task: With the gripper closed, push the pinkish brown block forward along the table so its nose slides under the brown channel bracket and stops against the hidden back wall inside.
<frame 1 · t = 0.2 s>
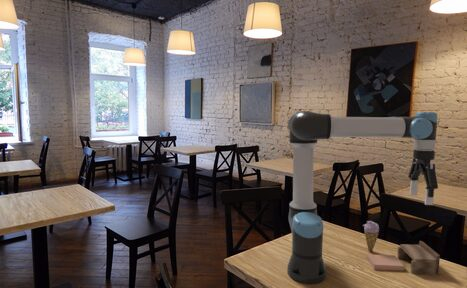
hand: (420, 199, 128), 28 cm above the table, fingers open, 13 cm apart
brown channel bracket: (416, 265, 128), on the table
ice cream cone: (369, 251, 142), on the table
pinkish brown block: (384, 265, 130), on the table
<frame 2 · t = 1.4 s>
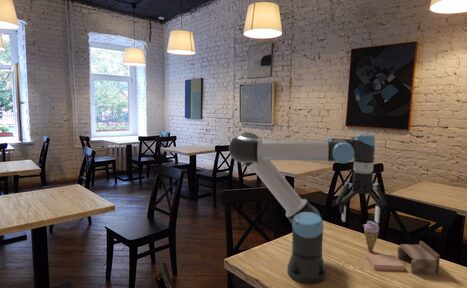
hand: (359, 221, 129), 18 cm above the table, fingers open, 13 cm apart
nothing on the table moved.
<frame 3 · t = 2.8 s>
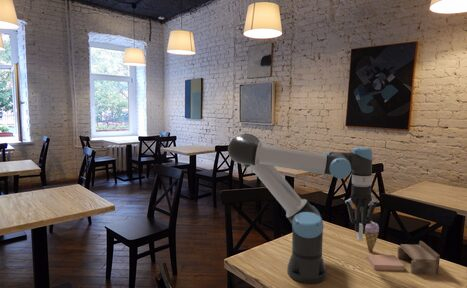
hand: (359, 239, 129), 11 cm above the table, fingers closed
nothing on the table moved.
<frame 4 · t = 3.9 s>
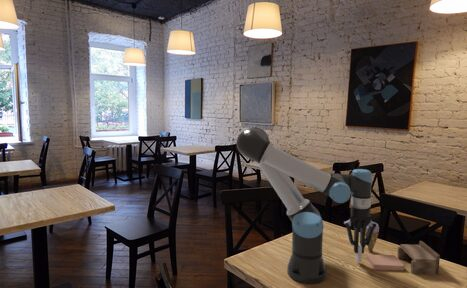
hand: (358, 260, 130), 1 cm above the table, fingers closed
nothing on the table moved.
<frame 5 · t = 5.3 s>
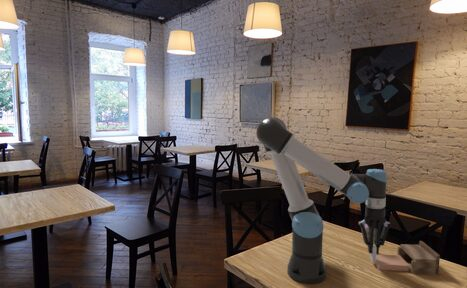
hand: (373, 260, 130), 2 cm above the table, fingers closed
pinkish brown block: (389, 265, 129), on the table, touching gripper
everything else where it was.
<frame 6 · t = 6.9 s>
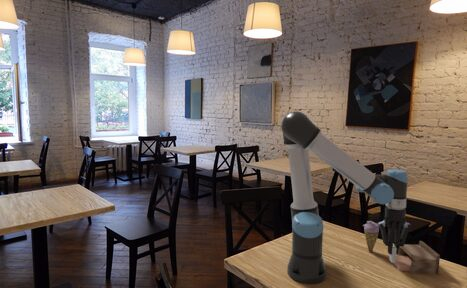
hand: (392, 261, 129), 1 cm above the table, fingers closed
pinkish brown block: (409, 266, 128), on the table, touching gripper
everything else where it was.
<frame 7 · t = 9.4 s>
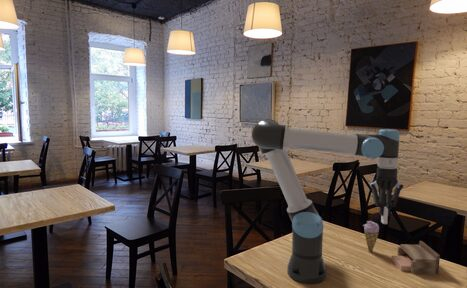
hand: (384, 222, 128), 18 cm above the table, fingers closed
pinkish brown block: (410, 266, 128), on the table
everything else where it was.
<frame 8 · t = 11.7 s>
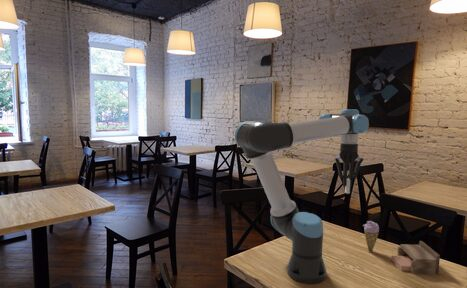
hand: (347, 192, 143), 26 cm above the table, fingers closed
nothing on the table moved.
at the end: pinkish brown block 0.5 cm from the target spot on the brown channel bracket, point -0.5 cm above the brown channel bracket's base; pinkish brown block tilted 0° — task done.
